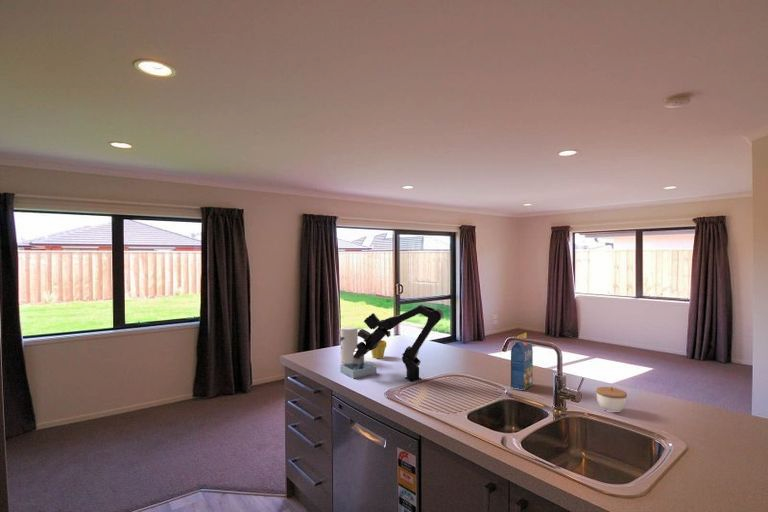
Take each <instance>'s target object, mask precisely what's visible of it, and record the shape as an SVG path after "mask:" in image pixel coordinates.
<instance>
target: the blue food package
mask: <svg viewBox="0 0 768 512" xmlns="http://www.w3.org/2000/svg"><path fill="white" fill-rule="evenodd" d="M517 338H526V339H528V338H527V332H524V333H522V334H520V335H517V336H516V339H517ZM533 353H534V351H533V345H532V343H531V344H528V343H522V342H517V341H516V343H514V344H513V345H512V347H511V349H510V388H511V387H513V388H519V389H523V390H524V389H526V388H527V389H529V388H530V387H531V386H533V381H534V379H533V377H534V376H533V373H534V372H533V371H534V370H533V368H534V365H533V363H534V358H533V356H534V355H533ZM529 386H530V387H529ZM528 387H529V388H528ZM527 389H526V390H527ZM524 391H525V390H524Z"/></svg>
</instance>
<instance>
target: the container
mask: <svg viewBox="0 0 768 512" xmlns="http://www.w3.org/2000/svg"><path fill="white" fill-rule="evenodd" d="M358 332H359V330H358V327H357V326H354V325H353V326H352V325H351V326H349V325H348V326H342V327H340V363H342V362H343V363H342V364H347V363H353V351H355V349H357V346H356V345H357V344H358V338H359V336H357V335H358Z"/></svg>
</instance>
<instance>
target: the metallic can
mask: <svg viewBox="0 0 768 512" xmlns="http://www.w3.org/2000/svg"><path fill="white" fill-rule="evenodd" d="M356 351H357V349H355V351H353V370H359V369H364V361H365V355H362V356H360V357H357V358H354V355H355V353H356Z"/></svg>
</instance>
